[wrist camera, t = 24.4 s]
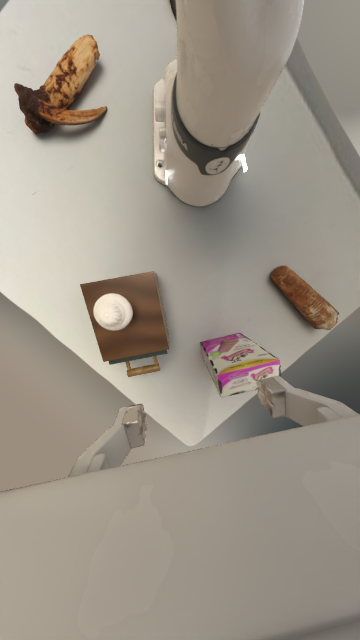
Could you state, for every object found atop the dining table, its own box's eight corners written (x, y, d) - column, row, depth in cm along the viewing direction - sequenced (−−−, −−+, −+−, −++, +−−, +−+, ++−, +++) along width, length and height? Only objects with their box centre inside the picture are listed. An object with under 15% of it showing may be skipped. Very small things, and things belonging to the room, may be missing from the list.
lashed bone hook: (63, 165, 34) (126, 93, 32) (47, 149, 30) (119, 63, 28) (22, 119, 32) (87, 38, 30) (-2, 94, 27) (72, -4, 25)
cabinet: (168, 334, 43) (169, 349, 34) (117, 344, 43) (103, 362, 33) (156, 274, 40) (153, 271, 30) (100, 283, 39) (79, 284, 30)
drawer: (170, 356, 43) (171, 372, 36) (124, 365, 43) (115, 383, 35) (155, 284, 39) (153, 284, 32) (104, 293, 39) (89, 296, 31)
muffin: (137, 294, 31) (128, 297, 24) (135, 326, 32) (126, 338, 25) (102, 290, 30) (83, 292, 24) (101, 323, 32) (83, 334, 25)
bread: (308, 328, 45) (327, 334, 40) (263, 277, 42) (277, 277, 36) (326, 310, 45) (348, 314, 39) (282, 258, 41) (300, 254, 36)
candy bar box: (240, 331, 44) (281, 358, 28) (243, 348, 45) (284, 384, 29) (198, 341, 44) (216, 374, 28) (202, 358, 45) (221, 400, 29)
